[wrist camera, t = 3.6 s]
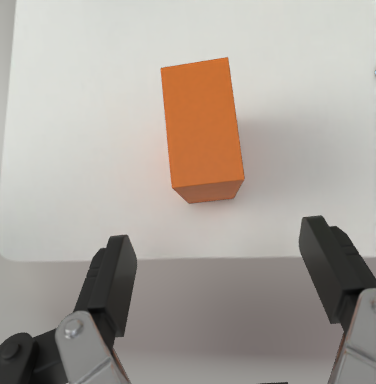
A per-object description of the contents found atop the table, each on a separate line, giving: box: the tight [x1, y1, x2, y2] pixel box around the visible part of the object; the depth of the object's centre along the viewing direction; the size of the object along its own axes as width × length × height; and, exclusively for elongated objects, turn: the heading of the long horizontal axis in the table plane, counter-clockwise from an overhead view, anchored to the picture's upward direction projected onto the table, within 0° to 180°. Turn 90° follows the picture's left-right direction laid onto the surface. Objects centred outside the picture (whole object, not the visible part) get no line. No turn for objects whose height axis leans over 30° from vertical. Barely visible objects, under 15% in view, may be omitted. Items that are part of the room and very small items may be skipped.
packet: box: [161, 57, 245, 203], centre depth 22 cm, size 4×8×10 cm, turn 6°
